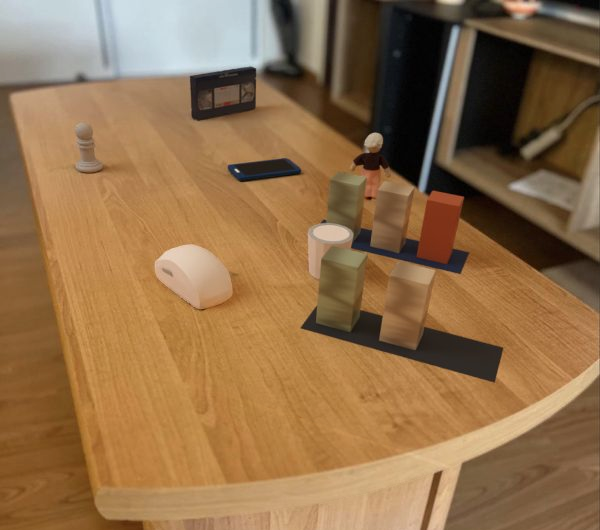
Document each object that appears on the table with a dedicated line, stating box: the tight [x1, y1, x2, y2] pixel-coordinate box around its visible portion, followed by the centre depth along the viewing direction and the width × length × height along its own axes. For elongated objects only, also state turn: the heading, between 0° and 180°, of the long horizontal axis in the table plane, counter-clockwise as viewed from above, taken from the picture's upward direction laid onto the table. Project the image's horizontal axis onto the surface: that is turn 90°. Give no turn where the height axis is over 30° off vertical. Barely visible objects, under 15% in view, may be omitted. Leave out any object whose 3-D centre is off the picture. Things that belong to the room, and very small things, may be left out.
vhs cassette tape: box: [189, 66, 257, 121], centre depth 156 cm, size 18×3×10 cm, turn 130°
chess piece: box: [74, 122, 104, 174], centre depth 123 cm, size 5×5×9 cm
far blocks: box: [325, 171, 416, 253], centre depth 104 cm, size 13×4×10 cm, turn 68°
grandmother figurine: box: [349, 132, 392, 203], centre depth 117 cm, size 8×4×13 cm, turn 88°
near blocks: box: [316, 246, 437, 350], centre depth 83 cm, size 14×4×10 cm, turn 68°
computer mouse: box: [154, 243, 234, 310], centre depth 91 cm, size 6×13×6 cm, turn 42°
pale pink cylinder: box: [307, 222, 354, 280], centre depth 96 cm, size 7×7×7 cm
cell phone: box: [227, 157, 302, 182], centre depth 129 cm, size 7×14×1 cm, turn 115°
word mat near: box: [300, 305, 504, 384], centre depth 85 cm, size 26×8×1 cm, turn 68°
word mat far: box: [306, 219, 470, 275], centre depth 106 cm, size 26×8×1 cm, turn 68°
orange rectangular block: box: [417, 190, 465, 264], centre depth 100 cm, size 5×4×10 cm
